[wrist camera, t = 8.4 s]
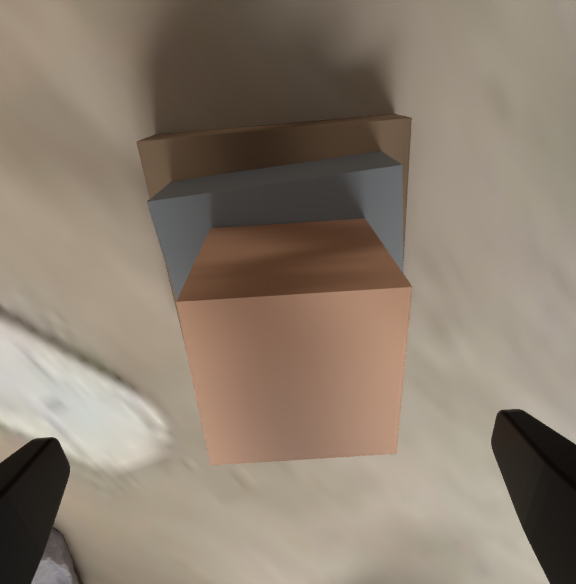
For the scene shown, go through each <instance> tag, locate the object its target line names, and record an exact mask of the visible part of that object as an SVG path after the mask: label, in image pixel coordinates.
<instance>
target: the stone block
mask: <svg viewBox="0 0 576 584" xmlns="http://www.w3.org/2000/svg"><path fill="white" fill-rule="evenodd" d="M31 584H79V580H78V577H77V574H76V573H75V572H74V567H73V559H72V557H71V556H70V553H69V550H68V548H67V546H66V544H65V542H64V538H63V536H62V534H61V533H60V532H58V531H56V530H55V529H53V528H52V531H51V534H50V537H49V540H48V543H47V546H46V548H45V551H44V554H43V556H42V559H41V561H40V564H39V566H38V569H37V571H36V573H35V576H34V578H33V580H32V583H31Z"/></svg>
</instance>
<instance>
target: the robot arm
mask: <svg viewBox="0 0 576 584" xmlns="http://www.w3.org/2000/svg"><path fill="white" fill-rule="evenodd" d="M491 445H492V450H493V453H494V455H495V458H496V461H497V463H498V466H499V468H500V471H501V474H502V476H503V479H504V482H505V484H506V487H507V489H508V492H509V495H510V497H511V500H512V503H513V505H514V508H515V510H516V513H517V516H518V518H519V520H520V523H521V525H522V528H523V530H524V532H525V534H526V536H527V538H528V540H529V543H530V545H531V547H532V549H533V551H534V553H535V555H536V557H537V559H538V561H539V563H540V565H541V567H542V569H543V571H544V573H545V575H546V577H547V579H548V581H549V583H550V584H576V444H574V443H573V442H571V441H570V440H568V439H567V438H565V437H563V436H562V435H560V434H559V433H557V432H556V431H554V430H553V429H551V428H550V427H548V426H546V425H545V424H543V423H542V422H540V421H539V420H537V419H536V418H534V417H533V416H531V415H529V414H528V413H526V412H525V411H523V410H520V409H510V410H501V411H499V412H498V413H497V416H496V420H495V425H494V429H493V434H492V438H491ZM69 474H70V465H69V462H68V460H67V458H66V455H65V453H64V451H63V449H62V447H61V445H60V443H59V441H58V440H57V439H56V438H53V437H48V438H36V439H33V440H31V441H30V442H28V443H27V444H26V445H24V446H23V447H22V448H20V449H19V450H18V451H16V452H15V453H13V454H12V455H11V456H9V457H8V458H7V459H5V460H4V461H2V462H1V463H0V584H31V583H32V580H33V578H34V576H35V573H36V571H37V569H38V566H39V564H40V561H41V559H42V556H43V554H44V551H45V548H46V546H47V543H48V540H49V537H50V534H51V531H52V528H53V524H54V521H55V518H56V515H57V512H58V509H59V506H60V503H61V500H62V497H63V494H64V490H65V487H66V484H67V481H68V478H69Z"/></svg>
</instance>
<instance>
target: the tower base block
mask: <svg viewBox="0 0 576 584" xmlns="http://www.w3.org/2000/svg"><path fill="white" fill-rule="evenodd" d="M411 119H412V118H410V117H405V116H401V115H397V114H390V115H378V116H367V117H355V118H343V119H332V120H320V121H309V122H297V123H285V124H274V125H262V126H251V127H239V128H227V129H216V130H204V131H193V132H181V133H169V134H158V135H153V136H151V137H148V138H145V139H142V140H140V141H137V146H138V150H139V154H140V158H141V162H142V167H143V171H144V175H145V179H146V184H147V188H148V192H149V196H150V199H151V198H152V197H153V196H154V195H156V194H157V193H158V192H159V191H160V190H162V189H163V188H164V187H165V186H166V185H168V184H169V183H170V182H172V181H179V180H186V179H192V178H199V177H206V176H213V175H220V174H226V173H233V172H240V171H247V170H254V169H261V168H267V167H274V166H281V165H288V164H295V163H302V162H308V161H315V160H322V159H329V158H336V157H343V156H349V155H356V154H363V153H370V152H377V151H382V152H384V153H385V154H387V155H388V156H390V157H391V158H393V159H394V160H396V161H397V162H399V163H400V164H402V179H403V259H404V241H405V224H406V206H407V189H408V172H409V154H410V137H411ZM165 263H166V262H165ZM166 268H167V266H166ZM167 272H168V269H167ZM168 276H169V272H168ZM169 280H170V284H171V289H172V293H173V297H174V301H175V305H176V310H177V314H178V309H177V304H176V301H177V299H176V295H175V292H174V289H173V285H172V282H171V279H170V276H169ZM178 318H179V314H178ZM179 322H180V318H179ZM180 326H181V323H180ZM181 331H182V328H181ZM182 335H183V332H182ZM183 339H184V337H183ZM184 343H185V342H184ZM186 352H187V351H186Z"/></svg>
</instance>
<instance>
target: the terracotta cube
mask: <svg viewBox="0 0 576 584" xmlns="http://www.w3.org/2000/svg"><path fill="white" fill-rule="evenodd" d="M411 296H412V286H411V284H410V283H409V281H408V280H407V278H406V277H405V276H404V274H403V273H402V271H401V270H400V268H399V267H398V265H397V264H396V262H395V261H394V259H393V258H392V257H391V255H390V254H389V252H388V251H387V249H386V248H385V246H384V245H383V243H382V242H381V241H380V239H379V238H378V236H377V235H376V233H375V232H374V230H373V229H372V227H371V226H370V224H369V223H368V222H367V220H366V219H365V218H360V219H345V220H329V221H313V222H298V223H282V224H266V225H251V226H235V227H220V228H210V230H209V233H208V235H207V237H206V239H205V241H204V243H203V245H202V248H201V250H200V252H199V254H198V256H197V258H196V260H195V263H194V265H193V267H192V269H191V271H190V273H189V275H188V278H187V280H186V282H185V284H184V286H183V288H182V290H181V292H180V295H179V297H178V299H177V301H176V304H177V309H178V314H179V318H180V323H181V328H182V332H183V337H184V342H185V347H186V351H187V356H188V361H189V365H190V370H191V375H192V380H193V384H194V389H195V394H196V399H197V403H198V408H199V413H200V417H201V422H202V427H203V432H204V436H205V441H206V446H207V450H208V455H209V460H210V465H222V464H238V463H254V462H270V461H286V460H302V459H318V458H334V457H350V456H366V455H382V454H397V444H398V433H399V423H400V412H401V402H402V391H403V380H404V370H405V359H406V349H407V338H408V327H409V317H410V306H411Z"/></svg>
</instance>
